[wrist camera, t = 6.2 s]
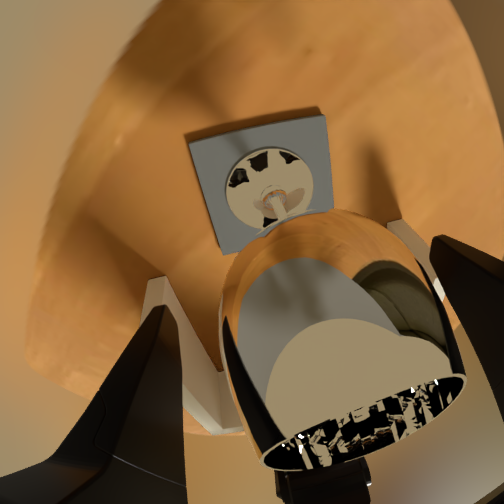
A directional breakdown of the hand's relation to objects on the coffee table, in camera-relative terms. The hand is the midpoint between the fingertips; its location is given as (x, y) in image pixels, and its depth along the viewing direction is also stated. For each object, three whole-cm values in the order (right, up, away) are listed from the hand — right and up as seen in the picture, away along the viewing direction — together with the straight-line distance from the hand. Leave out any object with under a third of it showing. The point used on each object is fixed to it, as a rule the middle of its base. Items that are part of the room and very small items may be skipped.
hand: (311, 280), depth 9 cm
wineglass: (-1, +4, +6) cm, 7 cm away
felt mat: (-1, +4, +6) cm, 7 cm away
